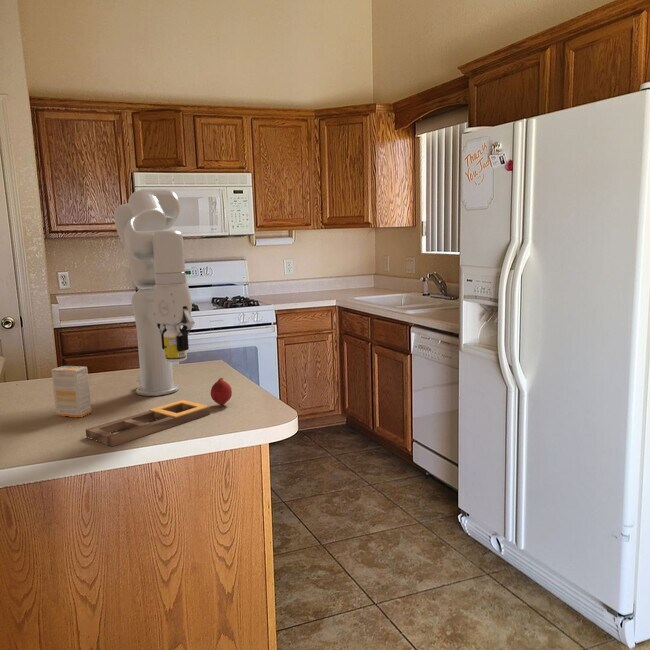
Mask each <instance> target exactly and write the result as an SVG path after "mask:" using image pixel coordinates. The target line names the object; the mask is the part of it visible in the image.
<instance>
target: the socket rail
mask: <svg viewBox="0 0 650 650" xmlns="http://www.w3.org/2000/svg"><path fill="white" fill-rule="evenodd" d="M210 411H211V410H210V405H206V404H202V403H197V402H195V401H190V400H189V401H188V400H185V399H181V400H177V401H175V402H174V401H173V402H171V403H168V404H164V405H161V406H160V405H159V406H156V407H153V408H150V409H148V411H144V412H140V413H137V414H134V415H129V416H127V417H123V418H120V419H117V420H114V421H110V422H106V423H103V424H100V425H95V426H94V427H93V426H92V427H90V428H86V429H85V437H86V436H87V437H89V438H92V439H95V440H97V441H96V442H98V441H100V442H99V443H101V442H102V444H104V443H105V444H104V445H107V446H110V447H116V446H118V445H121V444H124V443H127V442H130V441H134V440H137V439H140V438H141V437H142V438H143V437H145V436H148V435H152V434H154V433H157V432H161V431H163V430H167V429H170V428H173V427H175V426H178V425H181V424H184V423H188V422H191V421H193V420H196V419H199V418H204V417H205V416H208V415H209V416H210V415H211V413H210ZM154 420H155V421H154ZM150 421H152V422H150ZM147 422H149V423H147ZM121 429H122V430H121ZM126 429H127V430H126ZM117 430H119V431H120V432H118V431H117ZM123 430H124V431H123ZM114 431H115V432H117V433H115V432H114ZM110 432H112V433H110ZM89 438H88V439H89ZM92 439H91V440H92ZM95 440H94V441H95Z"/></svg>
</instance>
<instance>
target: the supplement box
mask: <svg viewBox="0 0 650 650" xmlns="http://www.w3.org/2000/svg"><path fill="white" fill-rule="evenodd" d="M51 378H52V385H53V386H52V387H53V395H54V404H55V413H56V415H55V416H57V415H61V416H60V417H65V416H69V418H77V417H81V418H83V416H84V417H86V416H88V415H90V414H89V413H91V414H92V402H91V392H90V382H89V372H88V367H87V366H75V365H61V366H59V367H54V368H52V369H51ZM87 414H88V415H87ZM85 415H86V416H85Z"/></svg>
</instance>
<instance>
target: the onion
mask: <svg viewBox="0 0 650 650" xmlns="http://www.w3.org/2000/svg"><path fill="white" fill-rule="evenodd" d="M232 391H233V390H232V387H231V385H230V384H229V383H228V382H227V381H225V380H224V378H223V377H219V378H218V380H217V381H216V382H215V383H213V384H212V386H211V389H210V396H211V397H210V398H211V399H212V400H213V401H214V402H215V403H216V404H217V405H220V406H221V405H222V406H224V405H226V403H227V402H229V400H230V399H231V398H232V397H233V396H232V395H233V392H232Z"/></svg>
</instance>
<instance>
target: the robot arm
mask: <svg viewBox="0 0 650 650" xmlns="http://www.w3.org/2000/svg"><path fill="white" fill-rule="evenodd" d="M127 201H128V202H127V203H123V204H120V205H118V206H117V207H116V208H115V209H114V214H113V215H114V216H113V217H114V224H115V229H116V232H117V234H118V237H119V239H120V241H121V242H122V244H123V246H124V248H125V250H126V253H127V259H128V263H129V269H130V275H131V278H132V282H133V285H134V286H135V287H136V288H138V289H140V290H138V291H136V292H135V293H134V294H133V295H132V296H131V308H132V312H133V316H134V322H135V327H136V335H137V348H138V358H139V362H138V363H139V372H140V373H139V374H140V376H139V377H137V378H136V382H138V383H139V386H138V387H137V388H136V391H135V392H136V394H137V395H140V396H146V397H155V396H156V397H157V396H164V395H165V396H166V395H169V394H172V393H175V392H177V391H178V390H179V388H180V386H179V384H178V383H175V382H174V376H173V375H174V374H173V373H174V372H173V362H168V361H166V358H165V347H164V333H165V332H166V331H167V329H166V325H175V326H176V329H177V333H178V336H176V338H177V351H179V352H180V351H185V350H186V351H188V350H189V335H190V331H191V329H192V327H193V325H194V324H195V320H193V317H192V309H193V308H192V307H193V306H192V302H193V301H192V296H191V292H190V287H189V285H188V284H189V283H188V278H187V274H186V266H185V265H186V263H185V252H184V250H185V242H184V238H183V237H184V236H183V234H182V232H181V231H180V230H171V228H172V227H173V225H174V224H175V222H176V220H177V219H178V218H179V215H180V209H181V204H180V199H179V197H178V195H177V194H176V193H175V192H174V191H173V190H170V189H139V190H136V191H134V192H132V193H131V194H130V195H129V198H128V200H127ZM169 229H170V230H169ZM180 322H181V323H180ZM165 324H166V325H165ZM180 326H182V328H181V327H180Z"/></svg>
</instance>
